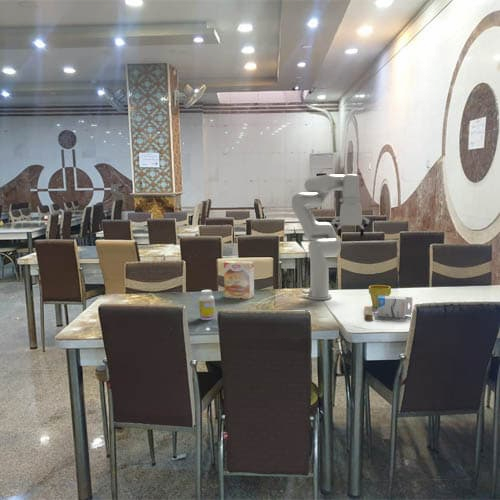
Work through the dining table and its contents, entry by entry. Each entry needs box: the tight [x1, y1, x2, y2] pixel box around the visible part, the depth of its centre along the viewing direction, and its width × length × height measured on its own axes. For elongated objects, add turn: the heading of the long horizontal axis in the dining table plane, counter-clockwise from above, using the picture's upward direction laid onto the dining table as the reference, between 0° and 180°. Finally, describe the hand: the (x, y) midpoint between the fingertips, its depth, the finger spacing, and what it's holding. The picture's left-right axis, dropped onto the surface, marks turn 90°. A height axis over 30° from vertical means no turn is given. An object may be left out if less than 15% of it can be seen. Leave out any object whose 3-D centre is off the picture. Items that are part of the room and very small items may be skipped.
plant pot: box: [368, 284, 392, 309], centre depth 221 cm, size 10×10×10 cm
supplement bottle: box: [198, 289, 216, 321], centre depth 204 cm, size 7×7×13 cm
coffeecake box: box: [223, 260, 255, 300], centre depth 247 cm, size 15×7×20 cm, turn 68°
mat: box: [373, 311, 402, 321], centre depth 203 cm, size 11×11×1 cm
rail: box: [363, 306, 374, 321], centre depth 204 cm, size 3×15×2 cm, turn 168°
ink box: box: [377, 295, 413, 319], centre depth 202 cm, size 9×5×15 cm
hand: (350, 237), depth 214 cm, fingers open, 9 cm apart
